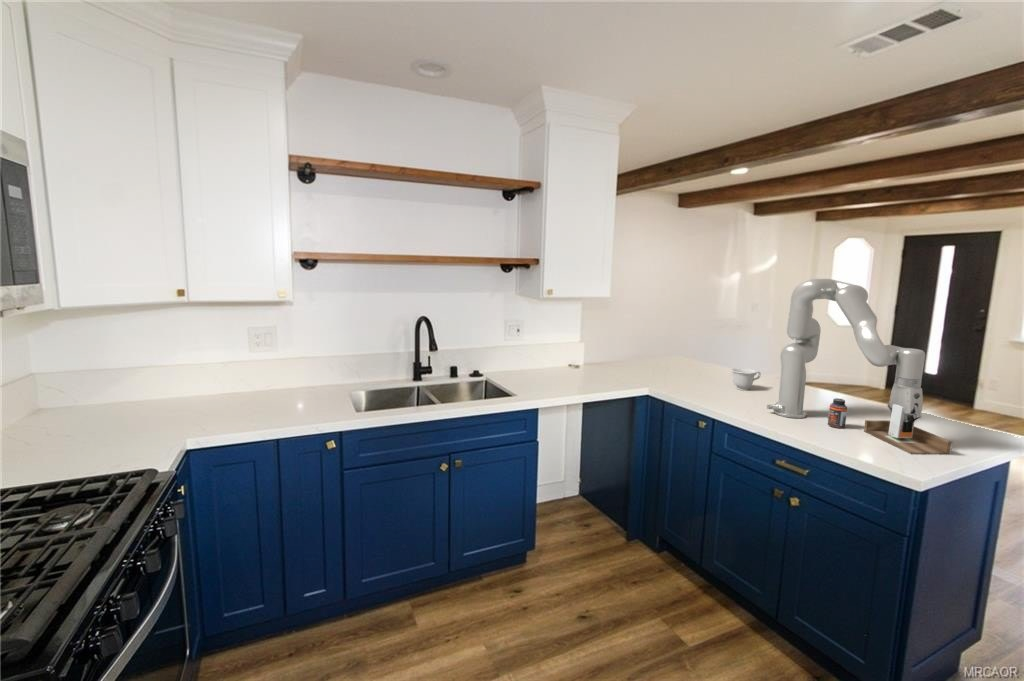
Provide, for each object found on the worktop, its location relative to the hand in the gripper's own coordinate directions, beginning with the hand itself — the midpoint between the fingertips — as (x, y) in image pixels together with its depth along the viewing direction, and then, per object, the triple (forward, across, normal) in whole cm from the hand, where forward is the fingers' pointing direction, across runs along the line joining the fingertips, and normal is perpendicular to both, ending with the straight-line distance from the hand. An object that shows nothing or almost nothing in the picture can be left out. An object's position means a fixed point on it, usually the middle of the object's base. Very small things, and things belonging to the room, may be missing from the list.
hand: (901, 429), depth 179 cm
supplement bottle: (+5, +16, +13) cm, 21 cm away
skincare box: (+3, 0, 0) cm, 3 cm away
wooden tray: (+4, -2, 0) cm, 5 cm away
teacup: (+5, +75, +23) cm, 79 cm away
